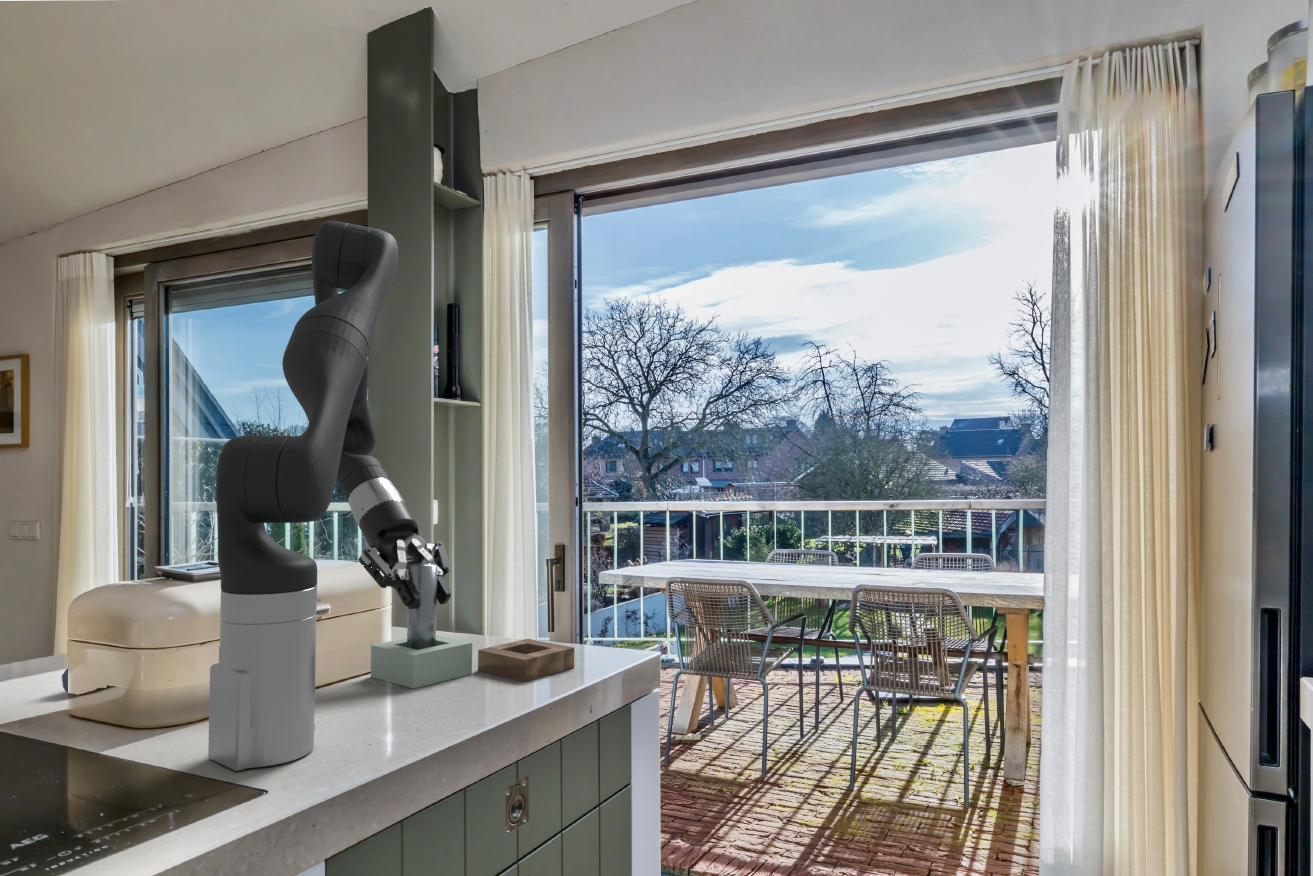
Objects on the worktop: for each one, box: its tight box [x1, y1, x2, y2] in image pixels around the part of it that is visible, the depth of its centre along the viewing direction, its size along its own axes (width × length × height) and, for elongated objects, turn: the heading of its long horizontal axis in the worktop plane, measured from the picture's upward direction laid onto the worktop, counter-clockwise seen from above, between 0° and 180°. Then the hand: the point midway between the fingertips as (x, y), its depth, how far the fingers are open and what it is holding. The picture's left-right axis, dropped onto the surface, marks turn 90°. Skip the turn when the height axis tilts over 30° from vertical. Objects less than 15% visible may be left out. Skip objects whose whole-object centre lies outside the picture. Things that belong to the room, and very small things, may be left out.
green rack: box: [370, 634, 473, 689], centre depth 119 cm, size 10×10×4 cm
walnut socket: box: [477, 638, 575, 682], centre depth 123 cm, size 10×10×3 cm
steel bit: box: [406, 562, 438, 650], centre depth 119 cm, size 4×4×16 cm
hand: (430, 602), depth 118 cm, fingers open, 4 cm apart
